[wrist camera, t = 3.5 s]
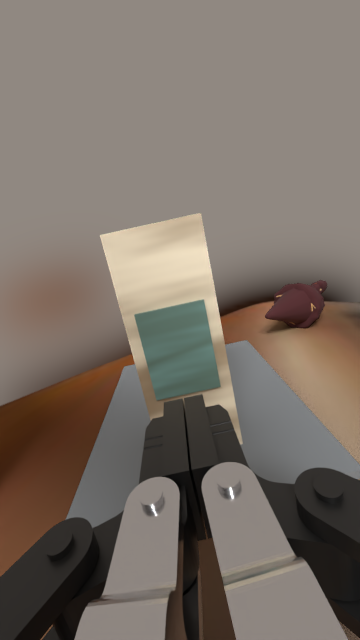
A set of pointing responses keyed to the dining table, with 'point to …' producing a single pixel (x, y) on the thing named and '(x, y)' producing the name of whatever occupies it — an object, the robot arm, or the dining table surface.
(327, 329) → the dining table surface
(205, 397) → the birch block
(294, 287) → the maroon rounded piece
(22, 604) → the robot arm
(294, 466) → the mat
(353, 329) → the dining table surface
